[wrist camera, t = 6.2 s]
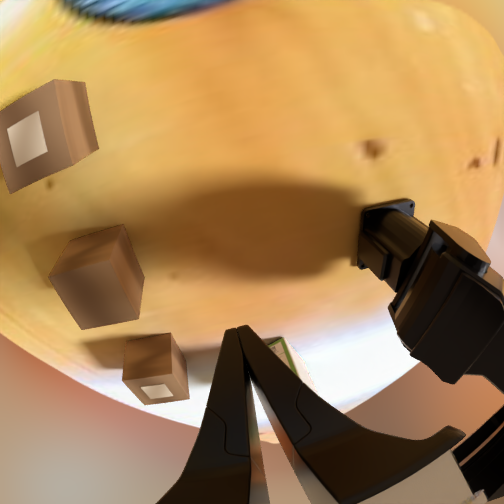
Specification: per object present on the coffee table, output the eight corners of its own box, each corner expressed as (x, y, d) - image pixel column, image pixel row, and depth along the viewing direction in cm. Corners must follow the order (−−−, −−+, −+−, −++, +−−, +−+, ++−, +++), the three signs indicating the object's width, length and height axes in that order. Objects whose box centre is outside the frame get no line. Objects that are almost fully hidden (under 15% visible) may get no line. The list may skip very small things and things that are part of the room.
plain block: (123, 223, 19) (109, 259, 15) (144, 276, 22) (139, 319, 17) (70, 240, 18) (48, 277, 14) (94, 288, 21) (81, 329, 17)
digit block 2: (171, 332, 25) (172, 374, 21) (185, 360, 28) (189, 399, 24) (125, 340, 25) (121, 381, 21) (144, 368, 28) (143, 406, 23)
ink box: (252, 351, 29) (287, 460, 18) (283, 334, 29) (329, 443, 18) (277, 374, 33) (311, 464, 22) (304, 360, 33) (344, 449, 22)
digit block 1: (85, 82, 13) (53, 79, 9) (99, 148, 16) (72, 165, 11) (27, 110, 12) (-12, 119, 8) (42, 171, 15) (8, 195, 11)
